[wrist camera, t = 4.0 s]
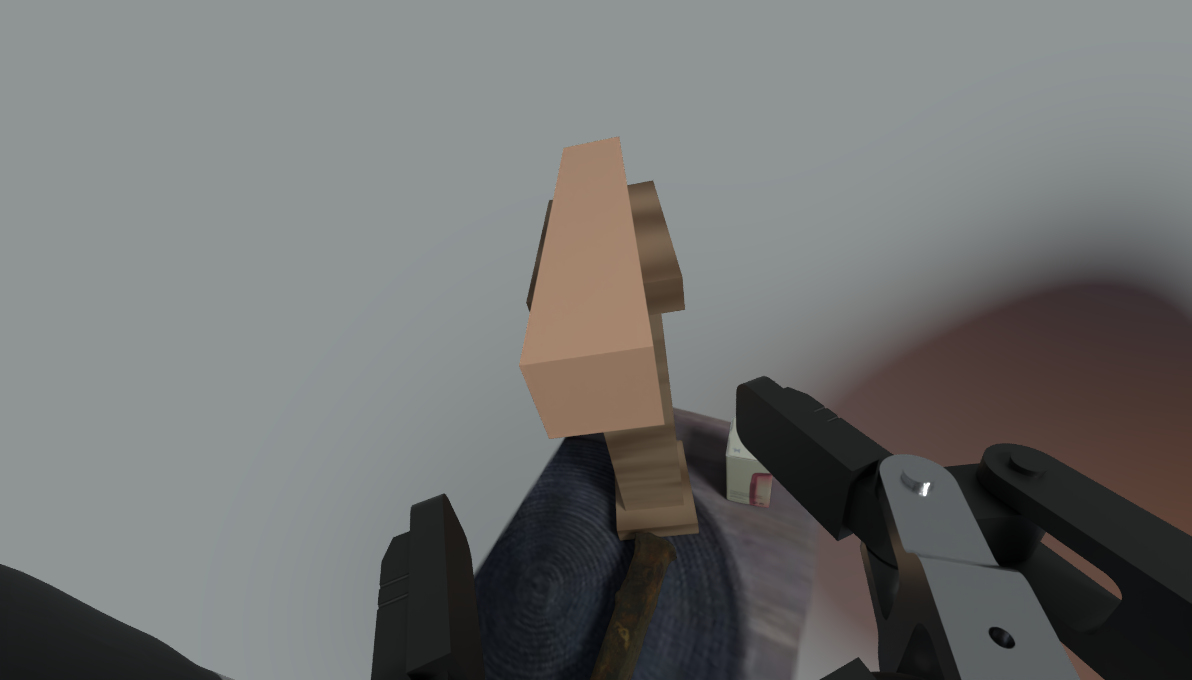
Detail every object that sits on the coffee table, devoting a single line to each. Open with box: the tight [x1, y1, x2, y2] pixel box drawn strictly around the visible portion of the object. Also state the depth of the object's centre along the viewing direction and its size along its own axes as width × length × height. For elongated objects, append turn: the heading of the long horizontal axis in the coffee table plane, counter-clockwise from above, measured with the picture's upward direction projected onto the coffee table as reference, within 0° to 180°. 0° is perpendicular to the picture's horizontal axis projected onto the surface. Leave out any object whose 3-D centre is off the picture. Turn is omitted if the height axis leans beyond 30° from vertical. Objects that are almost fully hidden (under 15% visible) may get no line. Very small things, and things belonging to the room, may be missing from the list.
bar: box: [519, 137, 665, 439], centre depth 23 cm, size 23×4×4 cm, turn 0°
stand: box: [526, 181, 699, 540], centre depth 37 cm, size 14×8×32 cm, turn 0°
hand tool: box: [590, 532, 677, 680], centre depth 36 cm, size 19×4×5 cm, turn 152°
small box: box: [726, 417, 772, 508], centre depth 44 cm, size 5×4×8 cm
